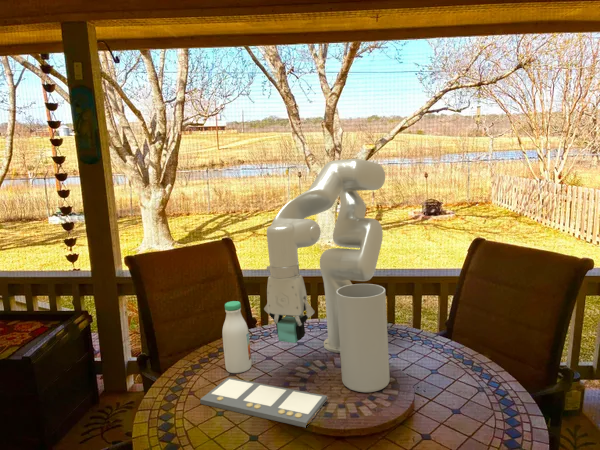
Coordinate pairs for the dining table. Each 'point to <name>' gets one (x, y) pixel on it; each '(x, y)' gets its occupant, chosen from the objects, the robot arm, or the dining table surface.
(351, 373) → the cylinder vase
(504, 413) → the dining table surface
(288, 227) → the robot arm
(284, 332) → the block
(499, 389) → the dining table surface
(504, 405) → the dining table surface
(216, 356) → the dining table surface
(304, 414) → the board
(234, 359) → the milk bottle
